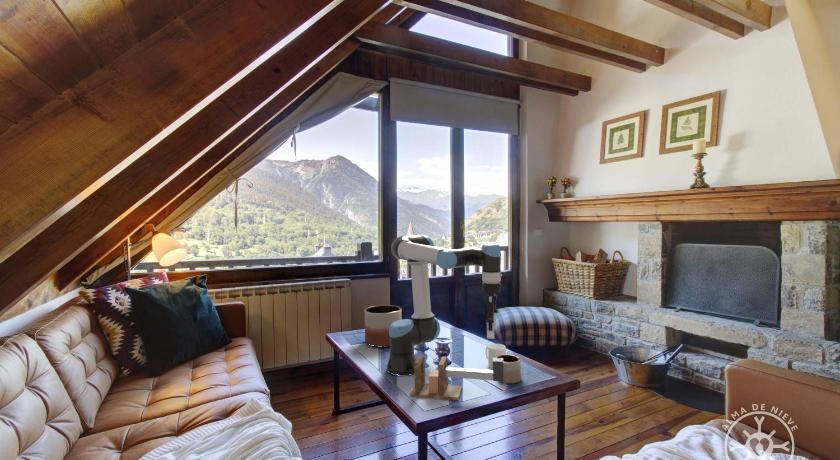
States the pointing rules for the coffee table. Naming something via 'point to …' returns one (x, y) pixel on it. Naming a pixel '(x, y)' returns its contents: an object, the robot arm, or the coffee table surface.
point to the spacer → (434, 382)
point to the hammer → (478, 372)
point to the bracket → (444, 389)
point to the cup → (494, 352)
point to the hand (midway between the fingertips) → (491, 333)
